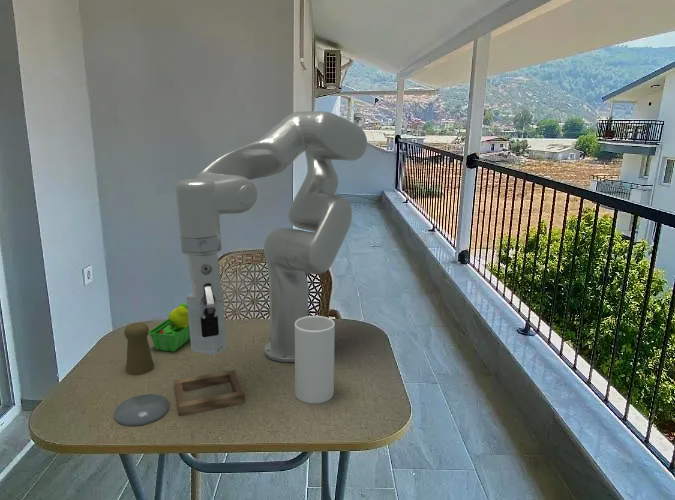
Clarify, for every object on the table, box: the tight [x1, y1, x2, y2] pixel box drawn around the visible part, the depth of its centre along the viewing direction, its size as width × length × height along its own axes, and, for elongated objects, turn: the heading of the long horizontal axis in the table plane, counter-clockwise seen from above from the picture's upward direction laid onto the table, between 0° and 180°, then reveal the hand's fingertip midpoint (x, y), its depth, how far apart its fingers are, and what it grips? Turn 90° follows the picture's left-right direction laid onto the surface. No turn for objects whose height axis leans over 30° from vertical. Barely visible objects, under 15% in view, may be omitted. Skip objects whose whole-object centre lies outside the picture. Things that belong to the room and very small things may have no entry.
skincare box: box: [186, 292, 228, 356], centre depth 98 cm, size 6×4×12 cm
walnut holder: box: [173, 369, 246, 417], centre depth 101 cm, size 13×11×2 cm
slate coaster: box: [113, 393, 170, 427], centre depth 95 cm, size 10×10×1 cm
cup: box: [294, 315, 336, 404], centre depth 101 cm, size 8×8×16 cm
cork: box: [124, 321, 155, 376], centre depth 111 cm, size 6×6×11 cm
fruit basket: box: [148, 302, 190, 352], centre depth 124 cm, size 11×9×11 cm
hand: (207, 327), depth 98 cm, fingers closed on skincare box, 7 cm apart
